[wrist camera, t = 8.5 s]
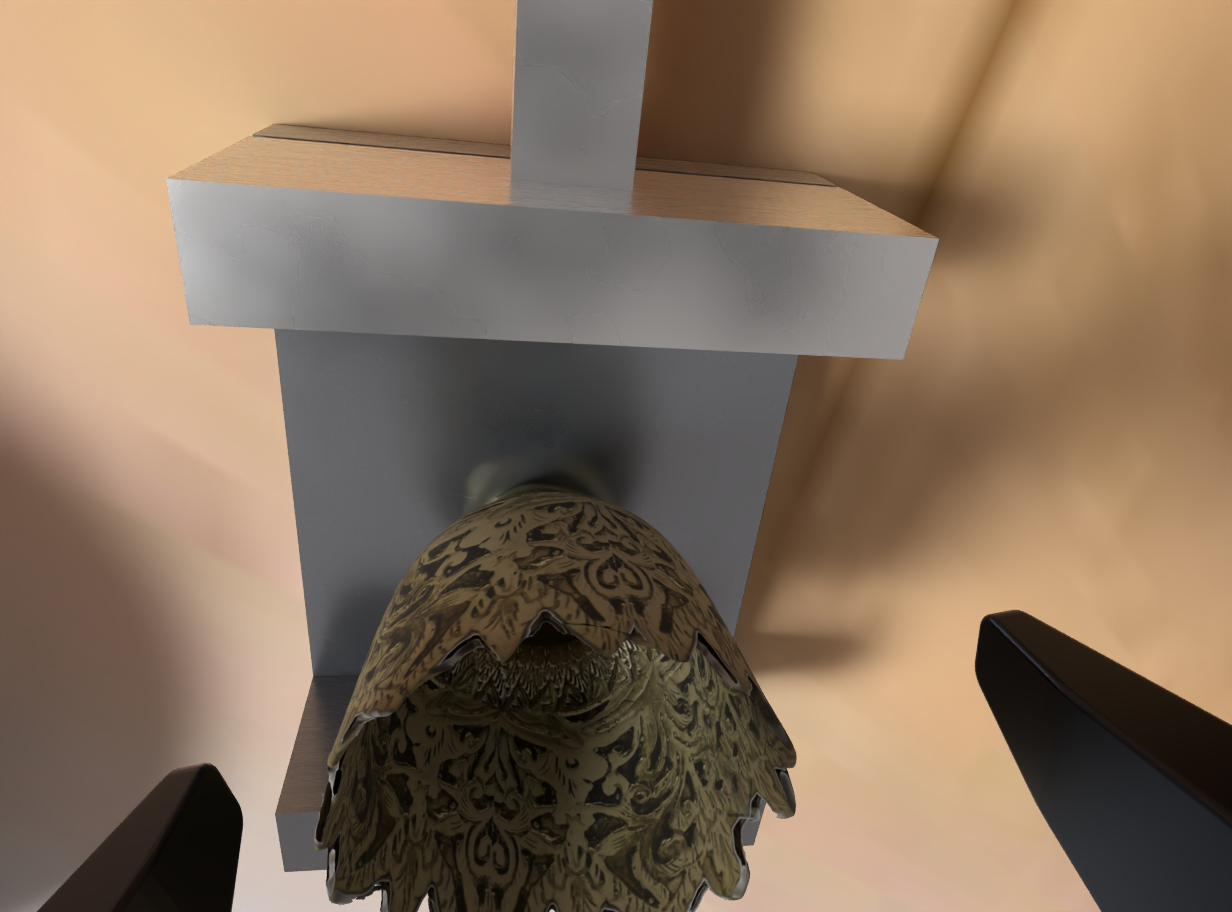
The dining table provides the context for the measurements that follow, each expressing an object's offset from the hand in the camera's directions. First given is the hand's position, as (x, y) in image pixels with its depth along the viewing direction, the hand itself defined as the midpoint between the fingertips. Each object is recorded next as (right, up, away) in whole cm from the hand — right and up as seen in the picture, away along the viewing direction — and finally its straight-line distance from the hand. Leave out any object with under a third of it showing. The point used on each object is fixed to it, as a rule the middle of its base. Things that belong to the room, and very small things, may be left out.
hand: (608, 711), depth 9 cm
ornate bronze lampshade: (-2, +1, +10) cm, 10 cm away
